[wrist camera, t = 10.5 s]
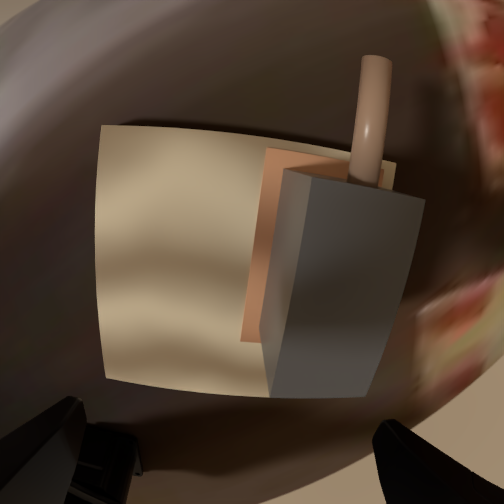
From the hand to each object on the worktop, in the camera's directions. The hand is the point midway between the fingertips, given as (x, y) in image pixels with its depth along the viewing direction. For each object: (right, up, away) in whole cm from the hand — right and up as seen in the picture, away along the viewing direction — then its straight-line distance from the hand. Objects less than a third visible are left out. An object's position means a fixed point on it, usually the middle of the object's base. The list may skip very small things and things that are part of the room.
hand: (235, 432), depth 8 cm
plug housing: (+4, +7, +9) cm, 12 cm away
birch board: (-1, +4, +11) cm, 12 cm away
